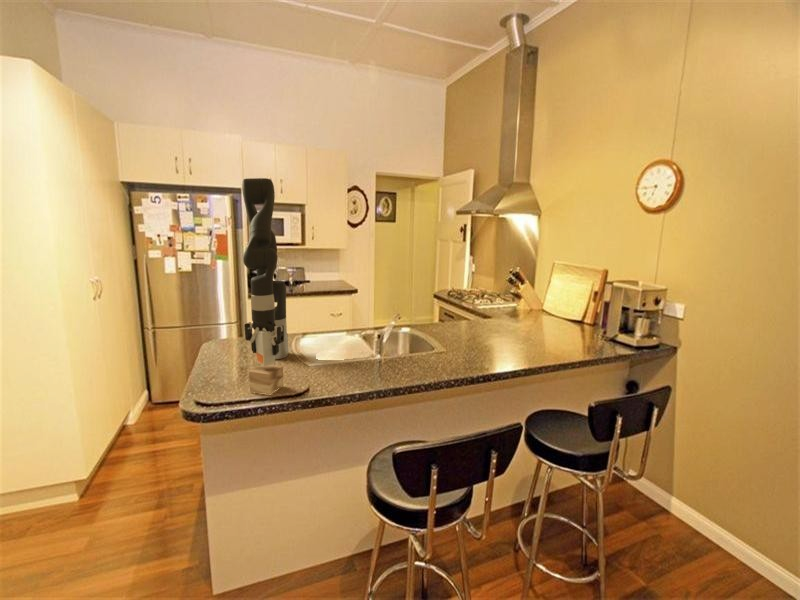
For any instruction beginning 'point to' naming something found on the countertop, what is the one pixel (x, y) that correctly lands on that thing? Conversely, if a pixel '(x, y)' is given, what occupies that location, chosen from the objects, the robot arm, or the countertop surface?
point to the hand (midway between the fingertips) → (265, 353)
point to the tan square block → (266, 374)
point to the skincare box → (264, 348)
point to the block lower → (266, 387)
